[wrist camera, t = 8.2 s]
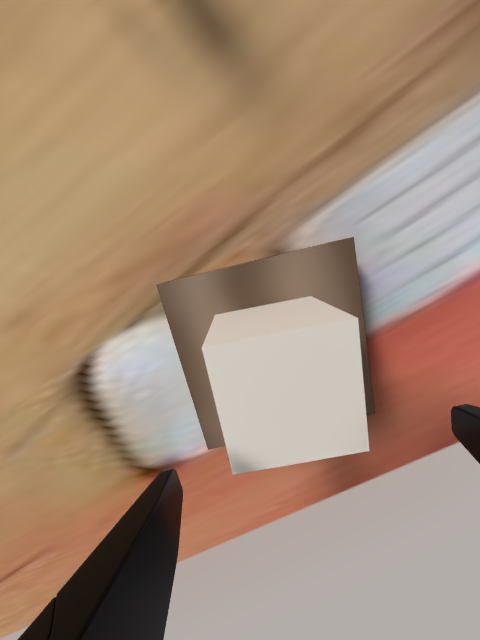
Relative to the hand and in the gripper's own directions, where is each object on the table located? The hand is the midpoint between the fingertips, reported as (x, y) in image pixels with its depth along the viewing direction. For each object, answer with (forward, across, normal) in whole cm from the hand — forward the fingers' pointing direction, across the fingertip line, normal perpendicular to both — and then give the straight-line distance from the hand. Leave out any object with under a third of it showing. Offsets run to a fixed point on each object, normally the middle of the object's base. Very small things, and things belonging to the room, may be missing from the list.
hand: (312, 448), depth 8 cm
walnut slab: (+12, 0, 0) cm, 12 cm away
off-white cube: (+8, 0, 0) cm, 8 cm away
